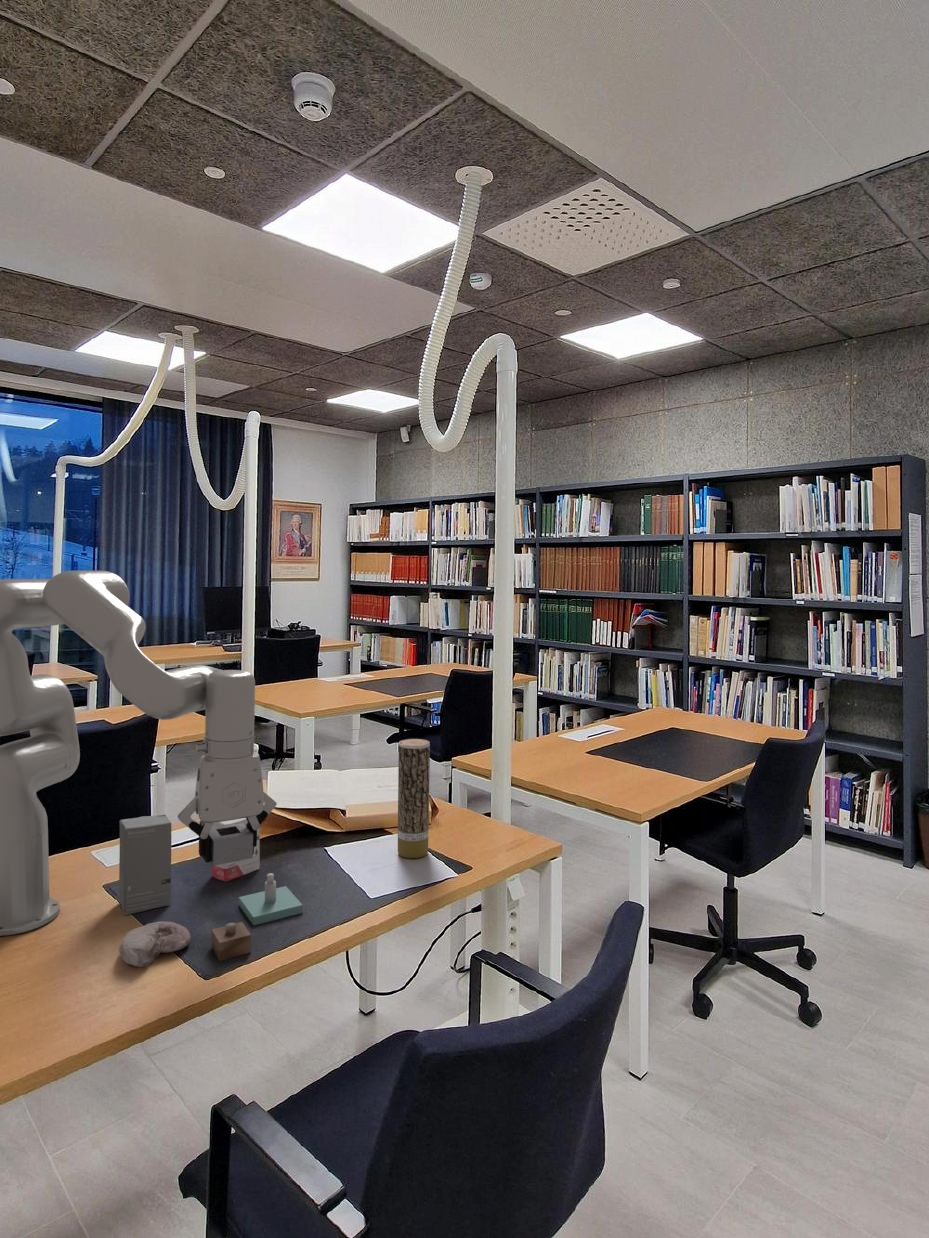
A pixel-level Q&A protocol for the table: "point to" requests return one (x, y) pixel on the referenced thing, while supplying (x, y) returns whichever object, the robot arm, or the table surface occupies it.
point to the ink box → (238, 867)
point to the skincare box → (145, 863)
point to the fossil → (152, 942)
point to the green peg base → (270, 903)
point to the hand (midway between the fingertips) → (228, 854)
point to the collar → (230, 843)
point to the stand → (231, 941)
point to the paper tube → (413, 798)
